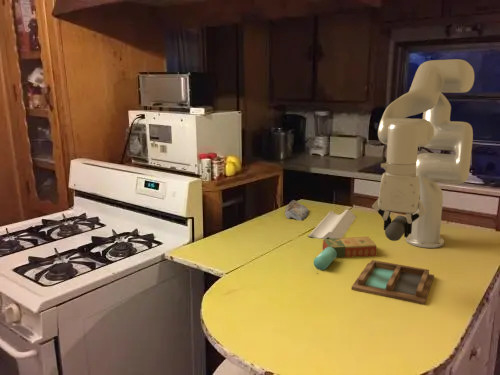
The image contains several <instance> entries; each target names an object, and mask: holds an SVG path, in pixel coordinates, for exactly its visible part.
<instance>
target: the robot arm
mask: <svg viewBox="0 0 500 375" xmlns="http://www.w3.org/2000/svg"><path fill="white" fill-rule="evenodd" d="M474 82H475V71H474V68H473V66H472V65H471V64H470V63H469V62H468V61H467V60H464V59H458V58H457V59H456V58H455V59H454V58H453V59H434V60H427V61H425V62H424V61H423V63H421V64H420V65H419V66H418V68H417V70H416V71H415V74H414V76H413V80H412V83H411V86H410V87H409V90H408V92H406V93H404V94H402V95H401V96H399V97H397V98H396V99H395V100H394V101H391V103H390V104H389V105H387V107H386V108H385V110H384V112H383V114H382V116H381V119H380V121H379V124H378V128H377V137H378V140H379V141H380V143H382V144H384V145H387V148H386V161H385V162H384V163H383V162H382V163H380V169H384V171H385V172H383V173H382V175H381V179H380V184H379V190H378V191H379V192H378V198H377V199H376V201H374V203H373V204H372V205H371V208H373V210H375V211H376V212H378V215H380V217H382V219H383V231H385V230H386V228H387V227H388V225H389V224H390V223H391V222H392V217H391V212H393V213H402V214H405V217H406V218H407V221H406V223H405V232H404V234H403V236H404V238H405V241H406V242H407V243H408V244H410V245H413V246H415V247H420V248H424V249H425V248H426V249H427V248H429V249H434V248H441V247H442V246H444V245H445V239H444V238H443V237H441V225H442V214H443V202H444V194H443V191H442V188H441V187H440V186H439V184H438V183H445V184H455V185H457V184H460V185H461V184H464V183H466V182H467V180H468V178H469V173H470V166H471V156H472V149H473V140H474V139H473V137H474V133H473V132H474V131H473V127H472V124H470V123H469V122H466V121H454V120H453V121H451V112H452V106H451V103H450V101H449V100H448V99H447V97H446V96H445V95H444V94H443V93H445V94H446V93H449V94H450V93H453V94H455V93H459V94H460V93H467V92H469V91H470V90H471V89H472V88H473V86H474ZM422 113H423V114H422ZM419 114H422V118H409V117H411V116H416V115H419ZM419 147H420V148H421V147H422V148H425V149H430V150H441V151H442V150H443V151H453V152H455V154H451V153H449V154H448V153H436V152H423V153H419V154H418V151H419V150H418V149H419Z"/></svg>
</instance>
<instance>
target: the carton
mask: <svg viewBox="0 0 500 375" xmlns="http://www.w3.org/2000/svg"><path fill="white" fill-rule="evenodd" d="M327 247H332V248H334V249H335V250H336V252H337V256H336V257H337V258H353V257H352V256H360V257H377V244H376V243H375V242H374V240H372V239H371V237H369V236H355V237H353V236H352V237H342V238H333V239H330V238H326V239H322V251H323V250H324V249H325V248H327Z"/></svg>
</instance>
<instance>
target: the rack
mask: <svg viewBox="0 0 500 375" xmlns="http://www.w3.org/2000/svg"><path fill="white" fill-rule="evenodd" d="M434 278H435V274H432V273H430V269H427V268H420V267H415V266H409V265H404V264H399V263H398V264H397V263H393V262H386V261H382V260H381V261H380V260H374V259H372V260H371V261H370V262H368V263H367V264H366V265H365V267H364V268H363V270H362V271H361V273H360V274H359V276H358V277H357V278H356V280H355V281H354V283H353V284H352V285H351V290H354V291H357V292H363V293H367V294H373V295H378V296H382V297H386V298H392V299H396V300H401V301H407V302H410V303H413V304H415V303H416V304H420V305H421V304H422V305H424V306H425V305H426V303H427V302H426V301H427V299H428V296H429V293H430V290H431V288H432V283H433V281H434Z"/></svg>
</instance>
